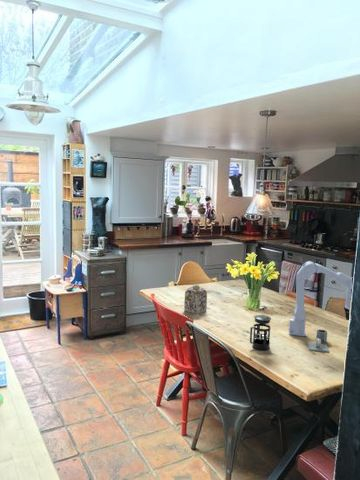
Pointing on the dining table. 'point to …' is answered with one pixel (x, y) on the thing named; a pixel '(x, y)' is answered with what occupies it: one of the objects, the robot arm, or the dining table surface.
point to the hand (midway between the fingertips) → (349, 321)
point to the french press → (261, 339)
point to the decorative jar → (195, 300)
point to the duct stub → (318, 346)
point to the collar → (322, 335)
